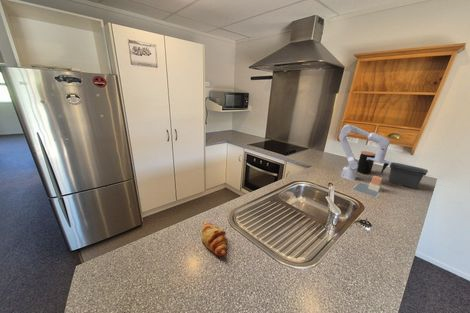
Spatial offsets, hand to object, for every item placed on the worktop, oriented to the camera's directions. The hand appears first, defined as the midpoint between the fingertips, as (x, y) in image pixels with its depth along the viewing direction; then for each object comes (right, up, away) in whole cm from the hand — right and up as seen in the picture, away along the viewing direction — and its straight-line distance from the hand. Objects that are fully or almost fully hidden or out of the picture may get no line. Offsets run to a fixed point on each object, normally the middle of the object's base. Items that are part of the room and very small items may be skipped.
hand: (375, 171), depth 139 cm
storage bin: (+25, -10, +6) cm, 28 cm away
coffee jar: (+8, -3, +25) cm, 27 cm away
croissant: (-115, -26, -60) cm, 132 cm away
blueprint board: (-12, -13, -8) cm, 19 cm away
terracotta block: (-6, -8, -8) cm, 13 cm away
